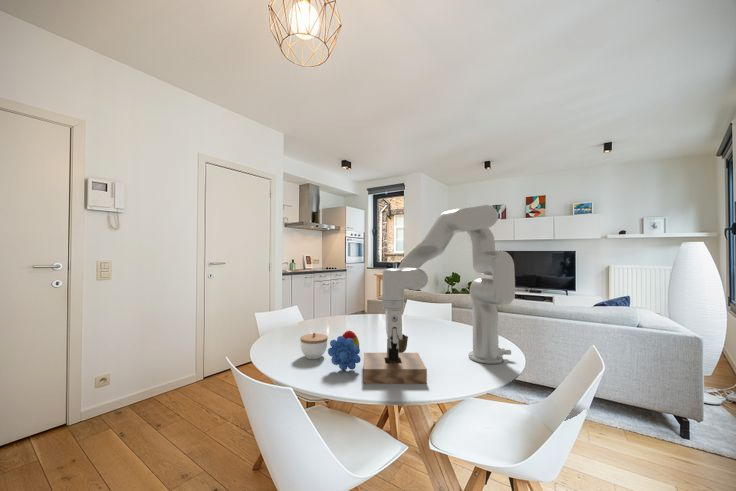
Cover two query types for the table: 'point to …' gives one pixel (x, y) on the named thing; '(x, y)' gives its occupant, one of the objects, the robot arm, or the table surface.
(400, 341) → the cup
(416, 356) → the walnut block
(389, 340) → the steel peg
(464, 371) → the table surface
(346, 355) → the grapes
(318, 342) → the lidded jar
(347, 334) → the decorative egg
